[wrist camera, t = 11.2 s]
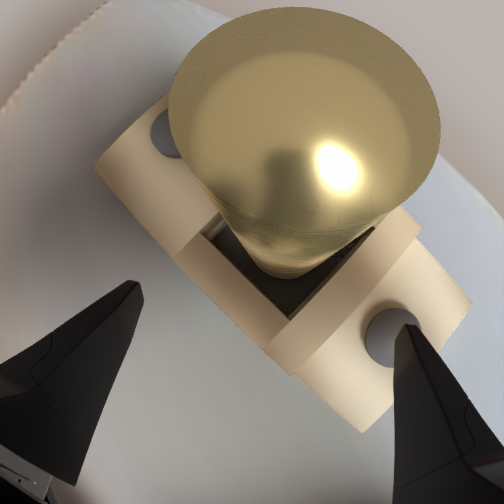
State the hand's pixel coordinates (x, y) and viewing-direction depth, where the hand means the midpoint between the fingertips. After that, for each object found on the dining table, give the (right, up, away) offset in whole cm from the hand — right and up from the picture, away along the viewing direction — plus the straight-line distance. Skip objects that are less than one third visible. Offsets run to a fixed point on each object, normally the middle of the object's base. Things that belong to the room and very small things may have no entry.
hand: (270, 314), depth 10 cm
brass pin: (+1, +3, +8) cm, 9 cm away
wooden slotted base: (+1, +3, +8) cm, 9 cm away
